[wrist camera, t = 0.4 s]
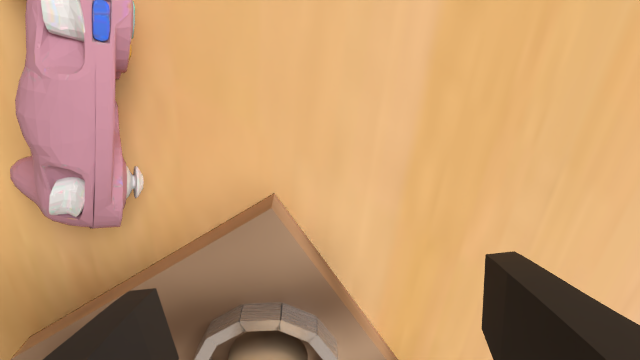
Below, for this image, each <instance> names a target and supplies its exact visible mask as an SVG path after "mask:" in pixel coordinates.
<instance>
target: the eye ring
mask: <svg viewBox="0 0 640 360" xmlns="http://www.w3.org/2000/svg"><path fill="white" fill-rule="evenodd" d="M273 330H278V331H281V332H284V333H286V334H289V335H291V336H294V337H296V338H299V339H301V340H304V341H307V342H308V343H309V344H310V345H311V346H312V347H313V348H314V350H315V351H316V352H317V353H318V354H319V356H320V357H321V358H322V359H323V360H338V352H337V341H336V339H335V338H334V337H333V336H332V334H331V333H330V332H329V331H328V329H327V328H326V327H325V326H324V324H323V323H322V322H321V321H320V319H319V318H318V317H316V316H315V315H313V314H310V313H308V312H305V311H303V310H300V309H298V308H295V307H293V306H290V305H288V304H285V303H282V302H275V303H249V304H244V305H243V304H242V305H240V306H238V307H236V308H234V309H232V310H230V311H229V312H227V313H225V314H223V315H221V316H219V317H217V318H215V319H214V320H212V321H211V323H210V325H209V327H208V329H207V330H206V332H205V334H204V336H203V338H202V340H201V341H200V343H199V345H198V347H197V350H196V354H195V357H194V360H212V356H211V355H212V353H213V352H214V350H215V348H216V346H217V345H219V344H221V343H223V342H225V341H227V340H229V339H231V338H233V337H235V336H237V335H239V334H240V333H242V332H248V331H273Z"/></svg>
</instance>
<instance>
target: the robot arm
mask: <svg viewBox="0 0 640 360" xmlns="http://www.w3.org/2000/svg"><path fill="white" fill-rule="evenodd" d="M482 331H483V333H484V336H485V339H486V341H487V344H488V347H489V349H490V352H491V354H492V357H493V359H494V360H640V325H638V324H636V323H635V322H633V321H631V320H629V319H627V318H626V317H624V316H622V315H620V314H619V313H617V312H615V311H613V310H612V309H610V308H608V307H607V306H605V305H603V304H601V303H600V302H598V301H596V300H595V299H593V298H591V297H590V296H588V295H586V294H585V293H583V292H581V291H580V290H578V289H576V288H575V287H573V286H571V285H570V284H568V283H567V282H565V281H563V280H562V279H560V278H558V277H557V276H555V275H553V274H552V273H550V272H549V271H547V270H545V269H544V268H542V267H540V266H539V265H537V264H535V263H534V262H532V261H530V260H529V259H527V258H525V257H524V256H522V255H520V254H518V253H516V252H505V253H495V254H486V259H485V277H484V296H483V315H482ZM43 360H179V356H178V353H177V350H176V347H175V344H174V341H173V338H172V335H171V332H170V329H169V326H168V323H167V320H166V317H165V314H164V311H163V308H162V304H161V301H160V298H159V295H158V292H157V289H156V288H152V289H142V290H132V291H128V292H127V293H125V294H124V295H122V296H121V297H120V298H118V299H117V300H116V301H114V302H113V303H112V304H111V305H109V306H108V307H107V308H105V309H104V310H103V311H102V312H100V313H99V314H98V315H97V316H95V317H94V318H93V319H92V320H91V321H89V322H88V323H87V324H86V325H84V326H83V327H82V328H81V329H80V330H78V331H77V332H76V333H75V334H73V335H72V336H71V337H70V338H68V339H67V340H66V341H65V342H64V343H62V344H61V345H60V346H59V347H57V348H56V349H55V350H54V351H52V352H51V353H50V354H49V355H47V356H46V357H45V358H44V359H43Z"/></svg>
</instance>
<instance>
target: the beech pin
mask: <svg viewBox="0 0 640 360" xmlns="http://www.w3.org/2000/svg"><path fill="white" fill-rule="evenodd" d="M228 360H308V354H307V350H306V347H305V346H304V344H303V343H302V341H301V340H300V339H299V338H296V337H294V336H291V335H289V334H286V333H284V332H281V331H278V330H273V331H248V332H245V333H244V334H242V335H241V336H239V337H238V338H237V339H236V340H235V342H234V343H233V345H232V347H231V349H230V353H229V357H228Z"/></svg>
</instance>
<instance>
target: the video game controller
mask: <svg viewBox="0 0 640 360" xmlns="http://www.w3.org/2000/svg"><path fill="white" fill-rule="evenodd" d="M134 25H135V6H134V1H133V0H27V3H26V50H27V53H26V62H25V67H24V70H23V73H22V75H21V78H20V80H19V85H18V90H17V95H16V100H15V101H16V116H17V119H18V122H19V125H20V128H21V131H22V134H23V136H24V138H25V140H26V142H27V144H28V146H29V147H30V150H31V153H32V156H30V157H26V158H23V159H20V160H18V161H17V162H16V163H15V164H14V165H13V166H12V167H11V169H10V174H11V180H12V181H13V183H14V185H15V186H16V187H17V188H18V189H19V190H20V191H21V192H22V193H23V194H24V195H26V196H27V197H28V198H30V199H31V200H32V201H34V202H35V203H36V204H37V205H38V207H39V208H40V209H41V211H42V213H43V214H44V215H45V216H46V217H48V218H49V219H51V220H53V221H56V222H60V223H64V224H67V225H72V226H82V227H89V228H106V227H120V225H121V220H122V212H123V209H124V206H125V203H126V199H127V198H128V197H129V195H130V193H131V191H132V189H133V190H134V196H135V198H137V197H138V196H139V194H140V193H141V190H142V189H143V175H142V174H141V171H140V170H139V168H138V167H136V166H135V167H134V174H133V175H132V174H131V172H130V170H129V168H128V167H127V166H126V163H125V161H124V159H123V157H122V148H121V141H120V134H119V119H118V106H117V102H116V101H115V79H119V78H120V76H121V72H124V73H125V72H126V71H127V66H128V61H129V59H130V57H131V44H130V42H131V39H132V38H133V34H134Z"/></svg>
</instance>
